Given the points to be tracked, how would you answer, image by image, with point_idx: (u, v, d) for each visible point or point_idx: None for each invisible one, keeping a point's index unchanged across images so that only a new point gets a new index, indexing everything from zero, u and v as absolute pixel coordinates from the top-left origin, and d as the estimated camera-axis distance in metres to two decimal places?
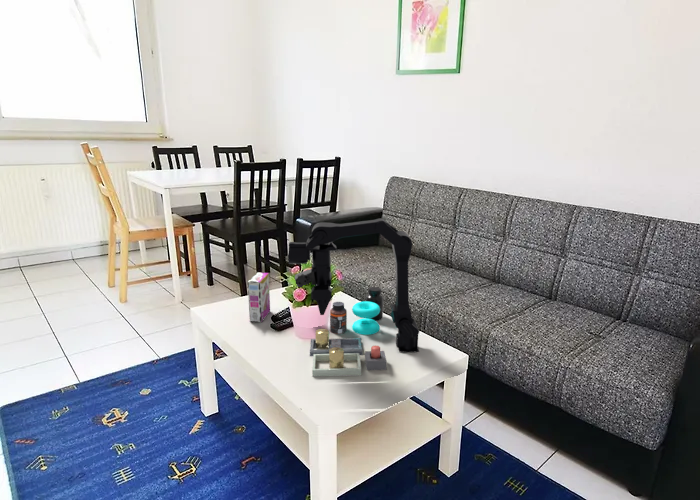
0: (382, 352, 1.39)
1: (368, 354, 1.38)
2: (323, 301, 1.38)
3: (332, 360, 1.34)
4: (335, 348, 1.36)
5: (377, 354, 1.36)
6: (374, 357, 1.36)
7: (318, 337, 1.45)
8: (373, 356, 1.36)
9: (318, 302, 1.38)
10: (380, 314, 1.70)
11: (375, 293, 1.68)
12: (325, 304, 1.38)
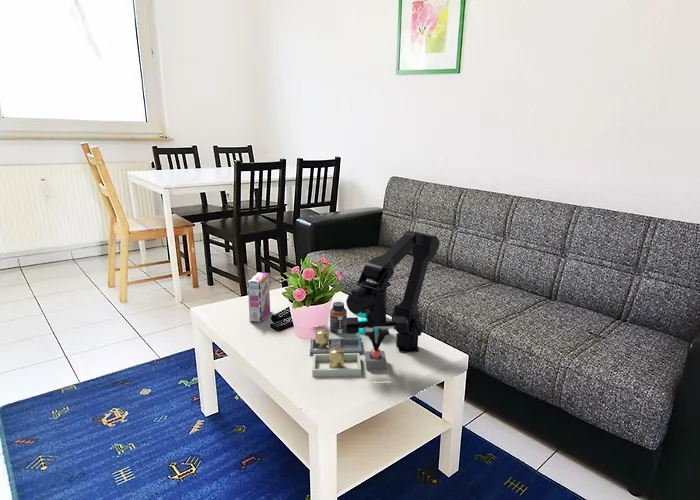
0: (382, 352, 1.39)
1: (368, 354, 1.38)
2: None
3: (332, 360, 1.34)
4: (335, 348, 1.36)
5: (377, 356, 1.36)
6: None
7: (318, 337, 1.45)
8: None
9: None
10: None
11: None
12: None
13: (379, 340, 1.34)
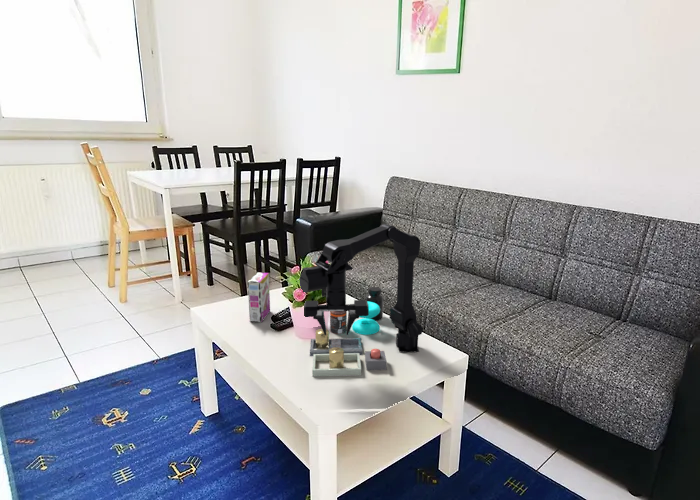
0: (382, 352, 1.39)
1: (368, 354, 1.38)
2: None
3: (332, 360, 1.34)
4: (335, 348, 1.36)
5: (377, 357, 1.36)
6: None
7: (318, 337, 1.45)
8: None
9: None
10: (380, 314, 1.70)
11: (375, 293, 1.68)
12: None
13: (349, 323, 1.30)
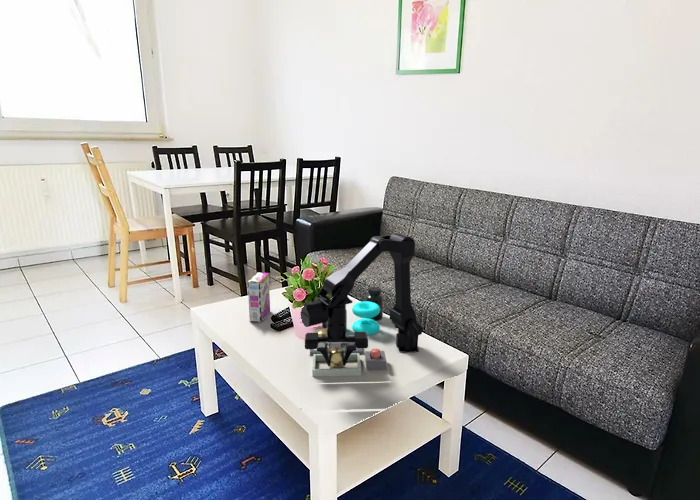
0: (382, 352, 1.39)
1: (368, 354, 1.38)
2: None
3: (332, 360, 1.34)
4: (335, 348, 1.36)
5: (377, 357, 1.36)
6: None
7: None
8: None
9: None
10: (380, 314, 1.70)
11: (375, 293, 1.68)
12: None
13: (346, 355, 1.33)
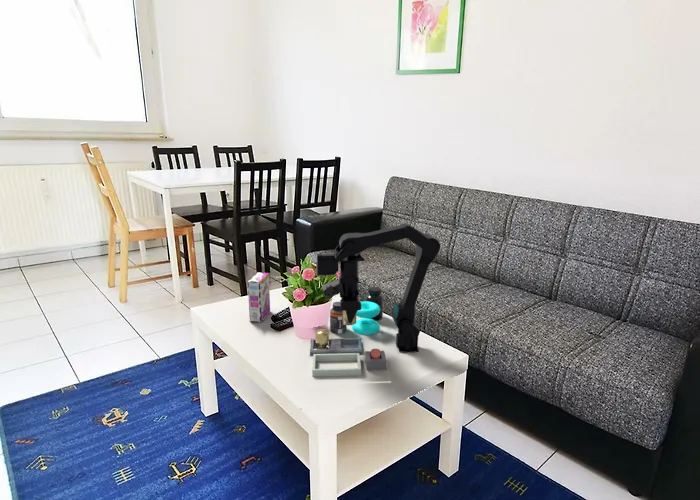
0: (382, 352, 1.39)
1: (368, 354, 1.38)
2: (351, 309, 1.40)
3: None
4: None
5: (377, 357, 1.36)
6: None
7: (318, 337, 1.45)
8: None
9: (347, 310, 1.40)
10: (380, 314, 1.70)
11: (375, 293, 1.68)
12: (353, 312, 1.40)
13: None
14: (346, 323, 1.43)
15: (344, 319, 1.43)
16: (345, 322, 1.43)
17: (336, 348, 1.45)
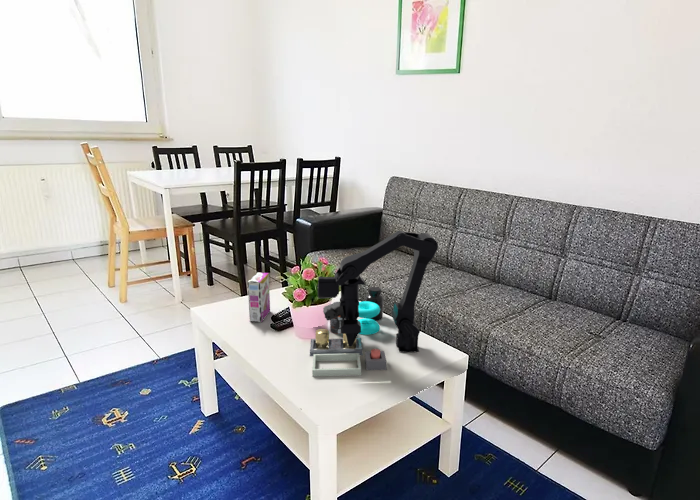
0: (382, 352, 1.39)
1: (368, 354, 1.38)
2: (352, 333, 1.41)
3: None
4: None
5: (377, 357, 1.36)
6: None
7: (318, 337, 1.45)
8: None
9: (347, 334, 1.41)
10: (380, 314, 1.70)
11: (375, 293, 1.68)
12: (354, 336, 1.42)
13: None
14: None
15: (344, 345, 1.47)
16: (345, 347, 1.46)
17: (336, 348, 1.45)
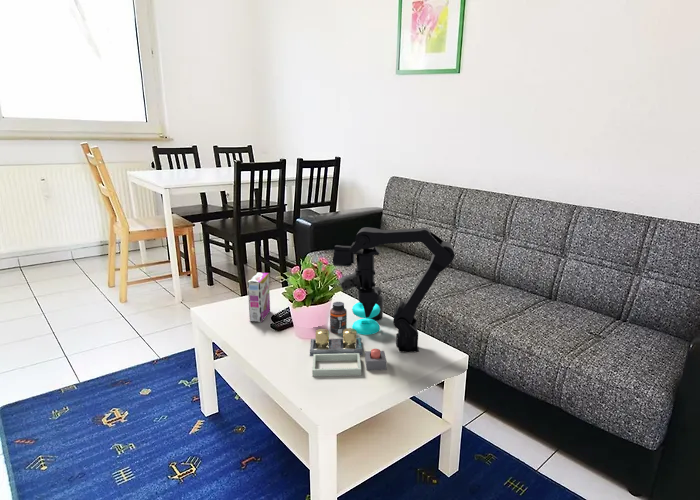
0: (382, 352, 1.39)
1: (368, 354, 1.38)
2: (369, 304, 1.42)
3: (355, 338, 1.46)
4: (345, 331, 1.46)
5: (377, 357, 1.36)
6: None
7: (318, 337, 1.45)
8: None
9: (364, 305, 1.42)
10: (380, 314, 1.70)
11: None
12: (371, 306, 1.43)
13: None
14: None
15: (344, 345, 1.46)
16: None
17: (336, 348, 1.45)
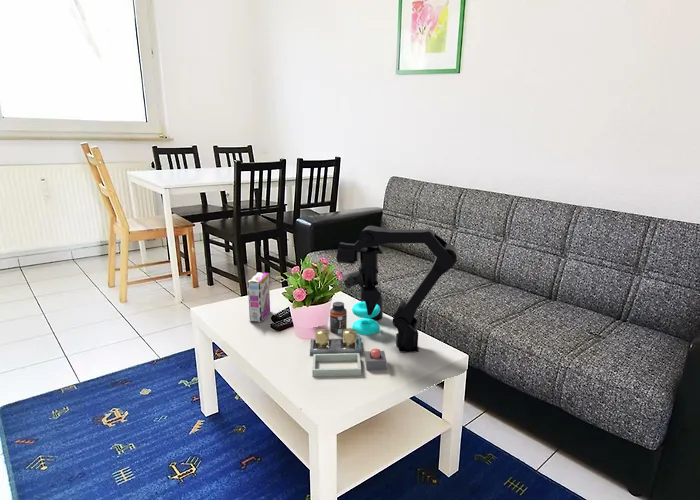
0: (382, 352, 1.39)
1: (368, 354, 1.38)
2: (371, 302, 1.43)
3: (355, 338, 1.46)
4: (345, 331, 1.46)
5: (377, 357, 1.36)
6: None
7: (318, 337, 1.45)
8: None
9: (366, 303, 1.43)
10: (380, 314, 1.70)
11: None
12: (373, 304, 1.43)
13: None
14: None
15: (344, 345, 1.46)
16: None
17: (336, 348, 1.45)
